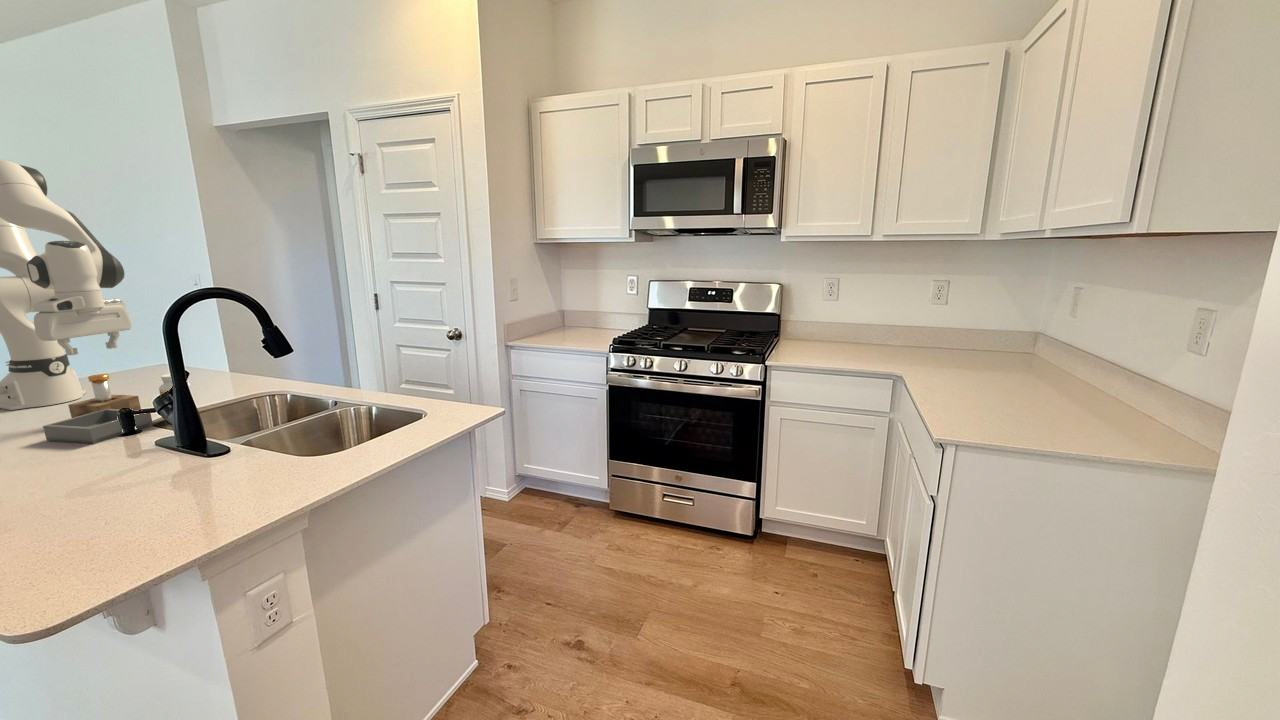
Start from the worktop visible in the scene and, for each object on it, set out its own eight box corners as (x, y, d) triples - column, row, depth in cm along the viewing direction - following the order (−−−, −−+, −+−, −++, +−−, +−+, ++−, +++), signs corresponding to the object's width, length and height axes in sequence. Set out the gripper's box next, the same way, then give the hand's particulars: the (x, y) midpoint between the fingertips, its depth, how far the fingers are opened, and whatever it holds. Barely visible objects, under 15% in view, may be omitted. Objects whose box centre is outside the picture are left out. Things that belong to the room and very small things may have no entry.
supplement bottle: (170, 416, 149) (161, 373, 146) (199, 413, 151) (191, 370, 149) (161, 423, 143) (152, 378, 140) (191, 420, 145) (183, 376, 143)
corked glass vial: (94, 418, 147) (83, 377, 144) (110, 414, 150) (100, 373, 148) (106, 419, 146) (96, 377, 143) (121, 414, 150) (112, 374, 147)
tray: (46, 441, 130) (42, 425, 129) (109, 422, 144) (106, 408, 143) (93, 444, 128) (89, 428, 127) (153, 424, 142) (150, 411, 141)
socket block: (72, 421, 144) (68, 404, 143) (112, 410, 154) (109, 394, 153) (102, 423, 143) (98, 406, 142) (141, 412, 152) (138, 395, 151)
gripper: (114, 298, 151) (124, 344, 154) (23, 305, 132) (37, 358, 135) (132, 298, 151) (142, 344, 153) (44, 305, 131) (57, 359, 134)
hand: (92, 351), depth 144 cm, fingers open, 8 cm apart
